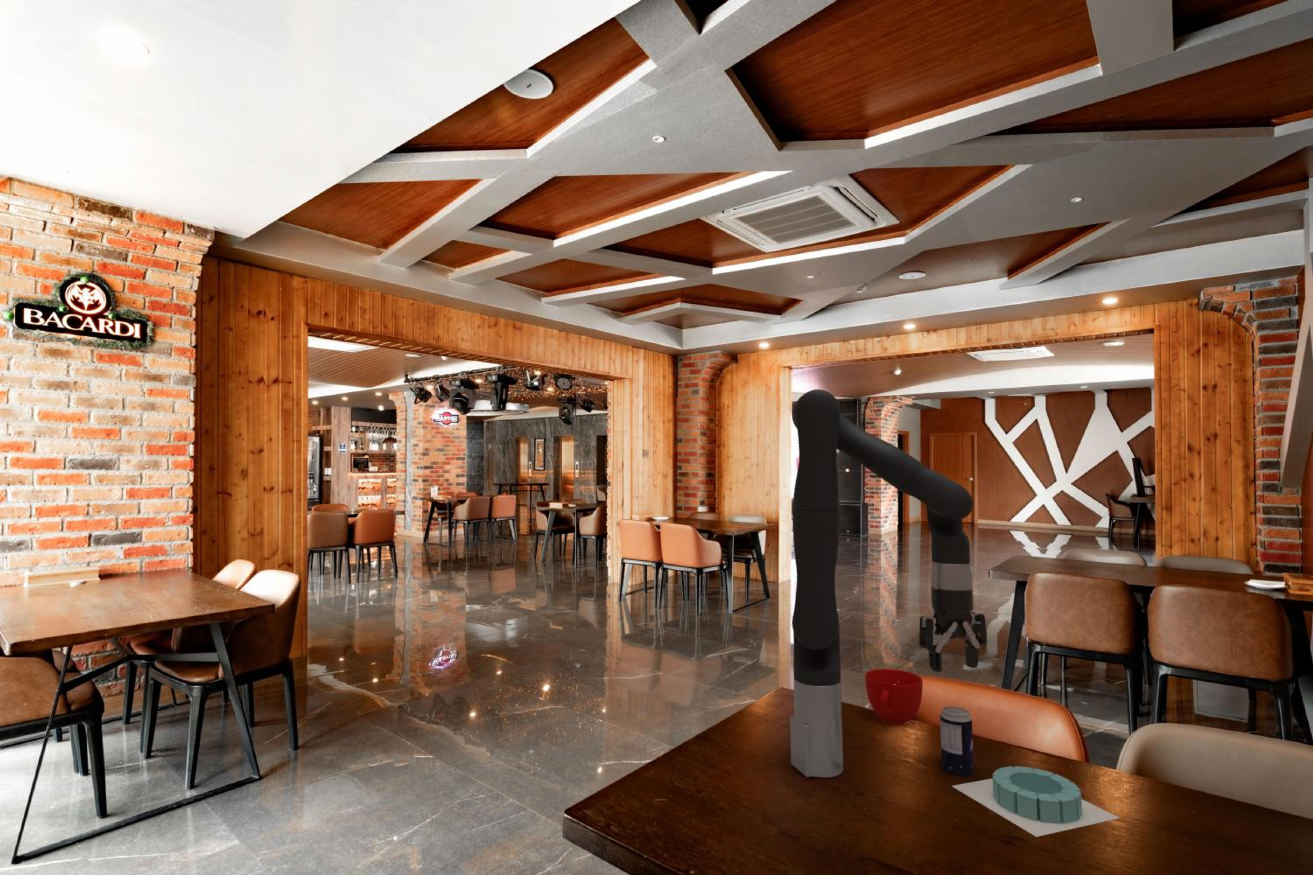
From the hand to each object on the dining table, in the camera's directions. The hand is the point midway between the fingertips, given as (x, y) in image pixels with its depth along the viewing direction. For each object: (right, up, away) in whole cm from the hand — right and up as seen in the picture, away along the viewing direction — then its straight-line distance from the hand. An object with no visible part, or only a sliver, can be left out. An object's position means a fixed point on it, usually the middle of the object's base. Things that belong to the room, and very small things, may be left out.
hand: (954, 668), depth 127 cm
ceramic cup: (-3, -22, +26) cm, 34 cm away
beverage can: (0, -20, -1) cm, 20 cm away
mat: (+7, -19, -14) cm, 25 cm away
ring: (+8, -18, -15) cm, 24 cm away
